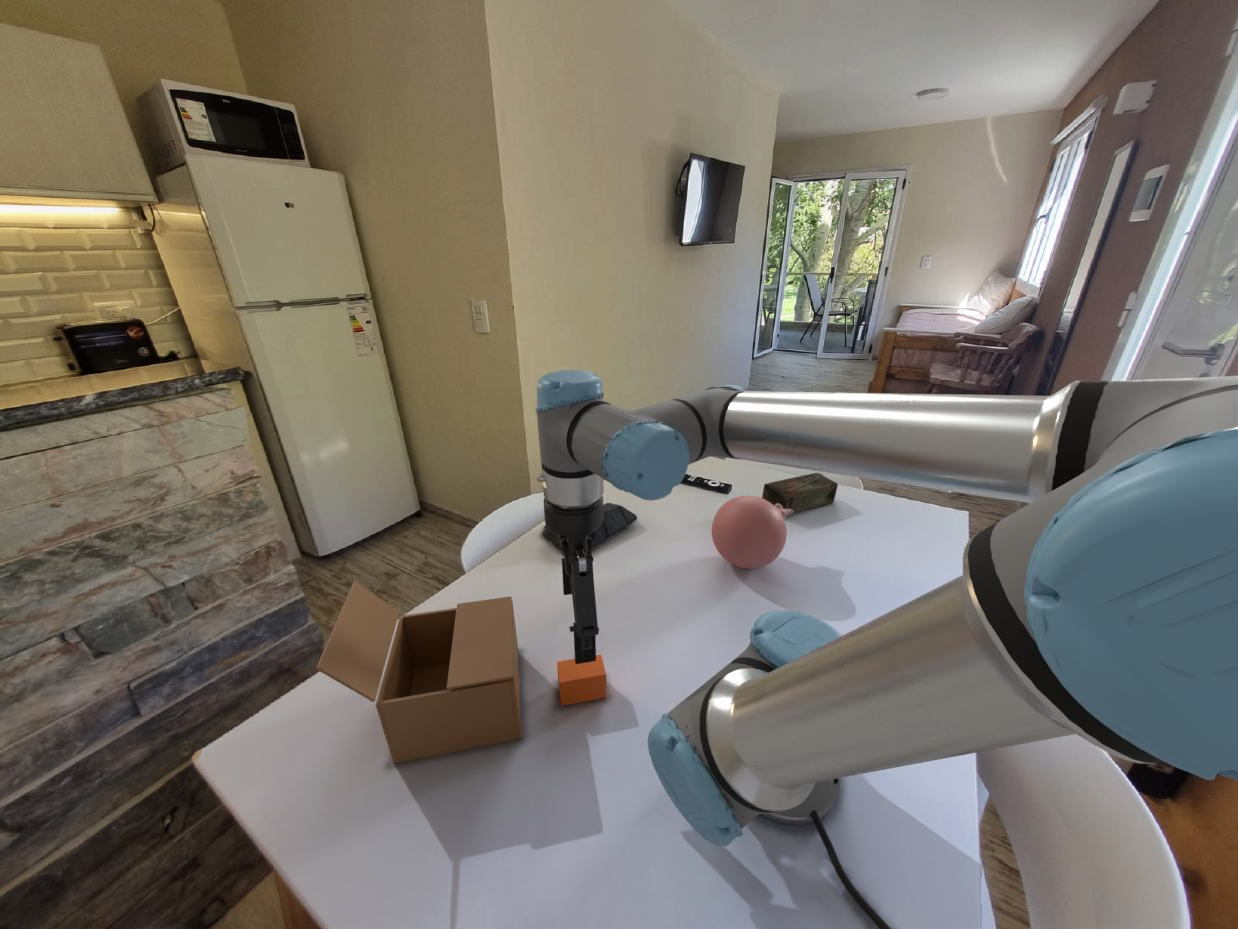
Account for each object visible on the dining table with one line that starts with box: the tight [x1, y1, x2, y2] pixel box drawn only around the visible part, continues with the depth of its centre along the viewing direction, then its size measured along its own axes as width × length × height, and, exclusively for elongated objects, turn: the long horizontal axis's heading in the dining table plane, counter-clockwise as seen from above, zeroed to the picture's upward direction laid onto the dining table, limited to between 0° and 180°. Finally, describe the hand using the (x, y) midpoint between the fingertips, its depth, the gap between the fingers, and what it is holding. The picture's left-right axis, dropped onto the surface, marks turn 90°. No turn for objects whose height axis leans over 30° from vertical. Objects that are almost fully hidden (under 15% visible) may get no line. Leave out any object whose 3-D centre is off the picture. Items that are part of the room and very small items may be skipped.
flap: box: [315, 580, 400, 703], centre depth 64 cm, size 16×8×1 cm
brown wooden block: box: [761, 472, 839, 514], centre depth 127 cm, size 8×19×7 cm, turn 114°
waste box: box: [375, 596, 523, 764], centre depth 71 cm, size 16×17×12 cm
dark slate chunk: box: [541, 502, 638, 551], centre depth 115 cm, size 15×22×5 cm
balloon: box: [711, 495, 794, 570], centre depth 103 cm, size 15×20×15 cm
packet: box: [556, 654, 607, 707], centre depth 74 cm, size 4×7×5 cm, turn 102°
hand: (578, 623), depth 69 cm, fingers open, 13 cm apart
